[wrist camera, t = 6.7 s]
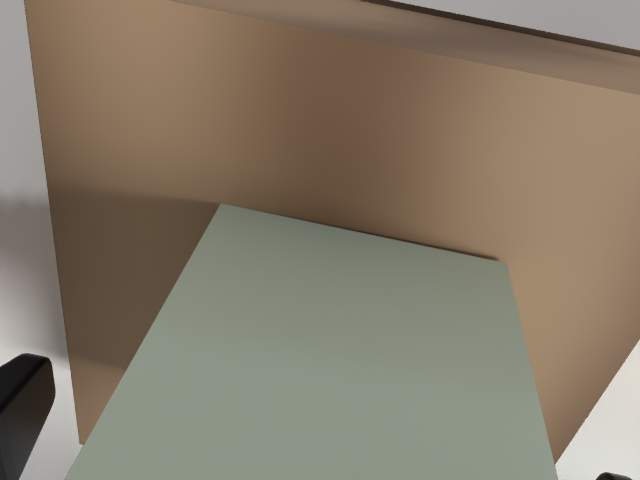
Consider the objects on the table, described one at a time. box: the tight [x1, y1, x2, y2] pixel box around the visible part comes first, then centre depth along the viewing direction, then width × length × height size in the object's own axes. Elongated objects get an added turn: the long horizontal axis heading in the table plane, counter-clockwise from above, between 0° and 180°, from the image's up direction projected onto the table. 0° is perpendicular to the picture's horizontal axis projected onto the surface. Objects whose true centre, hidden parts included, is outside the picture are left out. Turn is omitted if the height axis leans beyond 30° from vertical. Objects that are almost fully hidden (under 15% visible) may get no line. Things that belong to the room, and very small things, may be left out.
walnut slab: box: [24, 0, 640, 464], centre depth 12 cm, size 11×11×3 cm
